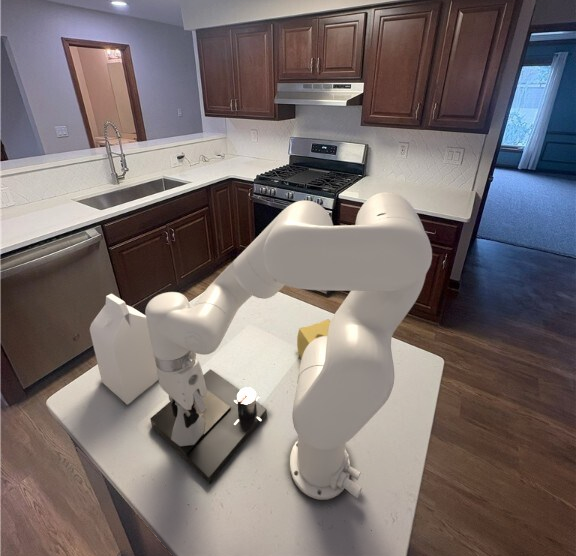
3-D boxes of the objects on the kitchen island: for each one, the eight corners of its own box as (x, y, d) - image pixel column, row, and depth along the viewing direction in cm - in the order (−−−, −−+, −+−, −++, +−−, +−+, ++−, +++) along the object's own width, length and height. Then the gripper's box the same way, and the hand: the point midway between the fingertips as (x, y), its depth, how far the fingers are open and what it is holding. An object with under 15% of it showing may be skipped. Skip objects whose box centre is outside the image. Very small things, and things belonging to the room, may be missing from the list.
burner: (230, 408, 75) (230, 407, 75) (186, 455, 65) (185, 453, 65) (195, 381, 82) (195, 379, 82) (150, 420, 72) (150, 418, 72)
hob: (272, 412, 76) (272, 406, 75) (212, 486, 62) (211, 480, 61) (214, 371, 87) (213, 365, 87) (151, 425, 73) (150, 419, 72)
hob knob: (246, 398, 77) (245, 383, 75) (260, 408, 75) (259, 392, 73) (234, 412, 74) (232, 396, 72) (248, 422, 72) (247, 406, 70)
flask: (196, 450, 65) (190, 418, 62) (165, 443, 67) (157, 411, 63) (210, 418, 72) (206, 387, 68) (182, 412, 73) (176, 381, 69)
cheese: (345, 368, 89) (347, 341, 85) (310, 380, 85) (312, 352, 81) (327, 343, 97) (329, 317, 94) (295, 353, 94) (296, 326, 90)
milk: (166, 373, 87) (151, 295, 76) (127, 404, 78) (104, 321, 68) (140, 354, 93) (124, 280, 83) (101, 381, 84) (77, 302, 74)
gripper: (219, 360, 59) (225, 425, 66) (166, 324, 68) (177, 385, 75) (186, 388, 53) (197, 455, 60) (133, 345, 62) (148, 409, 69)
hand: (186, 416), depth 68 cm, fingers closed on flask, 3 cm apart
